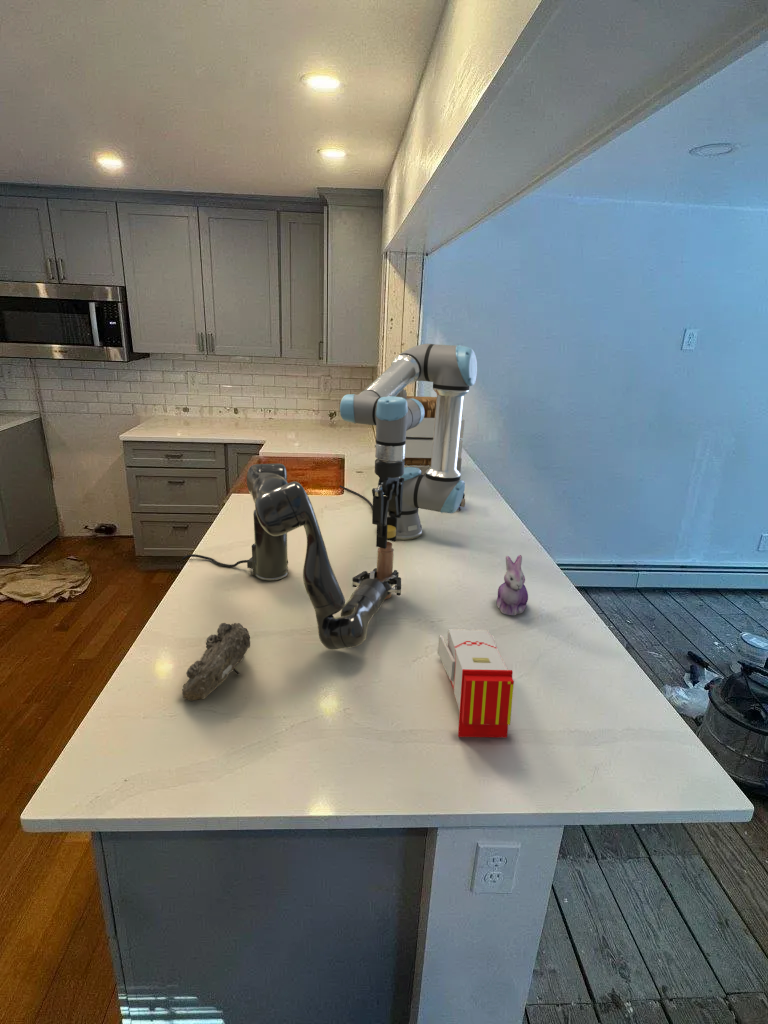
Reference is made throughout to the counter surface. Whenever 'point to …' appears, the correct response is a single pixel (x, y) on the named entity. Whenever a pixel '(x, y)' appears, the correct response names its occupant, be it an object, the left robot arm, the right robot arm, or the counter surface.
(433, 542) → the counter surface
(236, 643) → the fossil
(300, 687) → the counter surface
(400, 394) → the white storage crate
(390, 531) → the lid
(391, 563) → the jar
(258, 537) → the left robot arm
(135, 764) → the counter surface
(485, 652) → the toy
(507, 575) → the figurine
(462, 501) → the figurine character
